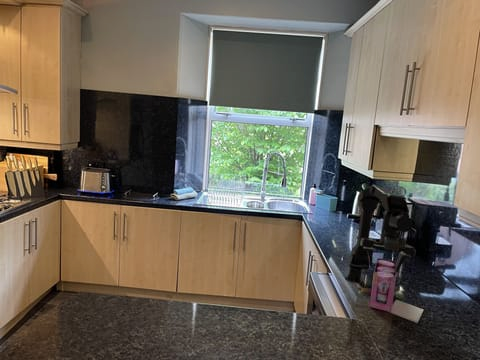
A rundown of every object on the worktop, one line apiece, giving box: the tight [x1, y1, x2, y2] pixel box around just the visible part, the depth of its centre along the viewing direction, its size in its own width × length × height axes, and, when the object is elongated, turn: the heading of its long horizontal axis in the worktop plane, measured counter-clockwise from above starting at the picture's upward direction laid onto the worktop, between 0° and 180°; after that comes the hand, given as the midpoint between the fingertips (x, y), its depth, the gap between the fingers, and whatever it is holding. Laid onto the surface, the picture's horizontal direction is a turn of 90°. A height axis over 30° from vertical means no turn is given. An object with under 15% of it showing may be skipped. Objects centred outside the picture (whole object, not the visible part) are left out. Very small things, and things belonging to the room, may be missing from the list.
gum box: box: [369, 257, 397, 313], centre depth 143 cm, size 24×8×14 cm, turn 156°
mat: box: [387, 299, 424, 324], centre depth 138 cm, size 14×10×1 cm
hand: (383, 269), depth 136 cm, fingers open, 9 cm apart
